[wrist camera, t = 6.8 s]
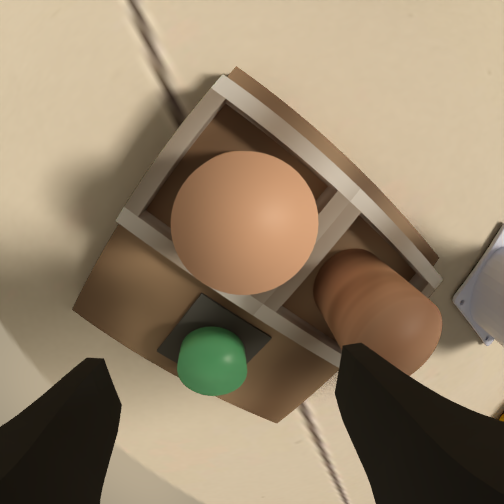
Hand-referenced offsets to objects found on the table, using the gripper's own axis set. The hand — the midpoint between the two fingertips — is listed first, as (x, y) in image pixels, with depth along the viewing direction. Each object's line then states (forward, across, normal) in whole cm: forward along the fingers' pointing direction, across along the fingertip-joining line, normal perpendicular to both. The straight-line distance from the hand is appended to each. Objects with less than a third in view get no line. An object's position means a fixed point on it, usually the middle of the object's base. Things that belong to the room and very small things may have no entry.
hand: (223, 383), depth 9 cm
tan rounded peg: (+8, -1, -4) cm, 9 cm away
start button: (+7, +1, +4) cm, 8 cm away
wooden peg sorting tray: (+9, -2, +1) cm, 10 cm away
